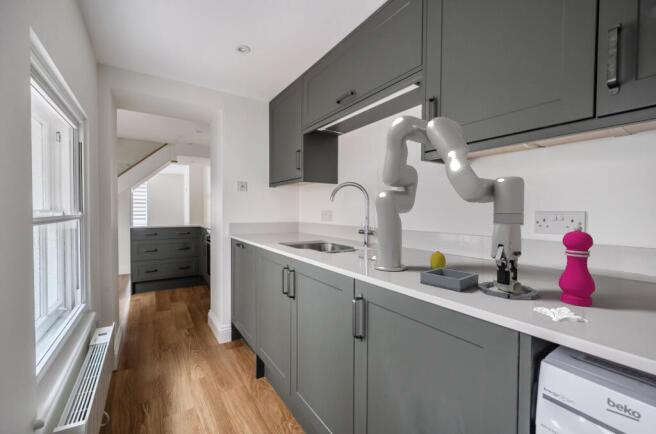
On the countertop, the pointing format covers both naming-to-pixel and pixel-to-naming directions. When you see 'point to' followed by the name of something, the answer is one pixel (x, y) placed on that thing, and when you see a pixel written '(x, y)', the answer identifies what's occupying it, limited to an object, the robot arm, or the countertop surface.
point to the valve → (514, 285)
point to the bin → (449, 279)
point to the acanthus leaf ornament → (561, 314)
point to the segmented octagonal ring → (531, 294)
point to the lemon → (437, 260)
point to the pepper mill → (577, 269)
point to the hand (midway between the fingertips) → (507, 281)
